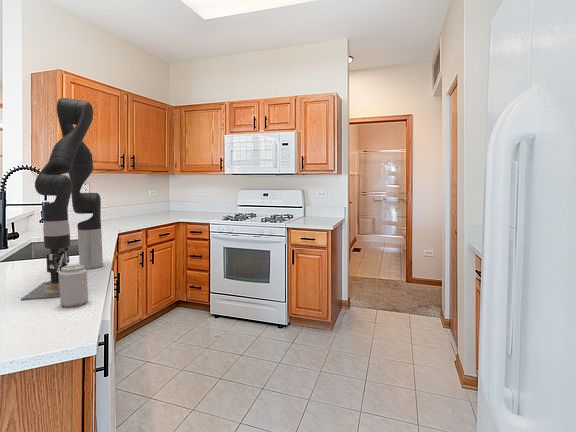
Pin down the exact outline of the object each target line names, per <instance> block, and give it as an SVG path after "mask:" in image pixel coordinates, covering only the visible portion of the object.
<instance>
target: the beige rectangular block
mask: <svg viewBox="0 0 576 432" xmlns="http://www.w3.org/2000/svg"><path fill="white" fill-rule="evenodd" d="M46 282H47V283H46V284H45V285H44V288H45V294H50V293H60V287H59V283H56V284H52V283H51V280H49V281H46Z"/></svg>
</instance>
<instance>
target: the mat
mask: <svg viewBox="0 0 576 432" xmlns="http://www.w3.org/2000/svg"><path fill="white" fill-rule="evenodd" d="M47 282H48V281H44V282H42V283H41V284H40V285H38V286H37V287H35V288H34V289H33V290H32V291H29V292H28V293H27V294H25V295H24V296H23V297H22V298H20V300H21V301H31V300H42V299H43V300H46V299H55V298H59V299H60V293H50V294H45V288H44V285H45V284H46V283H47Z"/></svg>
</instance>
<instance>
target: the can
mask: <svg viewBox="0 0 576 432" xmlns="http://www.w3.org/2000/svg"><path fill="white" fill-rule="evenodd" d="M87 270H88V269H85V268H84V266H83V265H80V264H71V265H67V266H65V267H62V268H61V271H59V287H60V297H59V301H60V302H59V303H60V304H61V305H62V306H63V307H64V308H65V307H66V308H75V307H79V306H82V305H84V304H85V303H86V302H87V301H89V291H88V271H87Z"/></svg>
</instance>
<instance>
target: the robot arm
mask: <svg viewBox="0 0 576 432" xmlns="http://www.w3.org/2000/svg"><path fill="white" fill-rule="evenodd" d="M56 115H57V118H58V123H59V127H60V130H61V135H62V138H61V139H59V140H58V141H57V142H56V143H55V144H54V146H53V148H52V151H51V153H50V156H49V159H48V162H47V163H46V164H45V165H44V167H43V168H42V169H41V171H40V172H39V173H38V174H37V176H36V178H35V182H34V188H35V190H36V193H37V194H39V195H40V196H48V197H49V196H51V197H52V196H53V197H55V199H54V201H53V202H48V203H45V204H43V206H42V215H43V216H42V217H43V226H42V227H43V228H42V230H43V234H42V235H43V245H44V246H43V247H44V248H45V249H47V250H48V249H49V250H50V252H49V253H47V254H46V272H47V273H50V281H51V283H52V284H56V283H59V272H60V271H61V268H62V267H65V266H69V263H70V256H69V247H70V246H71V233H70V231H71V230H70V223H69V213H68V212H69V211H68V209H69V203H70V198H71V204H72V210H73V212H74V213H75V214H76V215H77V214H80V215H81V214H82V215H83V214H84V215H85V214H91V215H92V216H91V217H89V218H88V219H86V220H82V221H80V222H78V223H77V241H78V243H77V245H78V260H79V261H78V262H79V263H78V265H83V266H84V268H85V269H86V270H89V269H98V268H102V267H103V266H104V262H103V261H104V258H103V238H102V237H103V236H102V234H103V233H102V219H101V215H102V214H101V209H102V207H101V206H102V205H101V204H102V202H101V195H100V194H99V193H98V192H81V189H82V187H83V185H84V183H85V182H86V181H87V180H88V178H89V177H90V176H91V174H92V172H93V171H94V161H93V155H92V152H91V150H90V149H89V147H88V146H87V145H86V144H85V142H84V141H83V140H84V138H85V136H86V134H87V133H88V130H89V129H90V126H91V124H92V122H93V118H94V108H93V105H92V103H90V102H89V101H86V100H82V99H81V100H80V99H74V98H70V97H68V98H67V97H60V98H59V99H58V100H57V103H56ZM65 174H68V176H67V175H65Z"/></svg>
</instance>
